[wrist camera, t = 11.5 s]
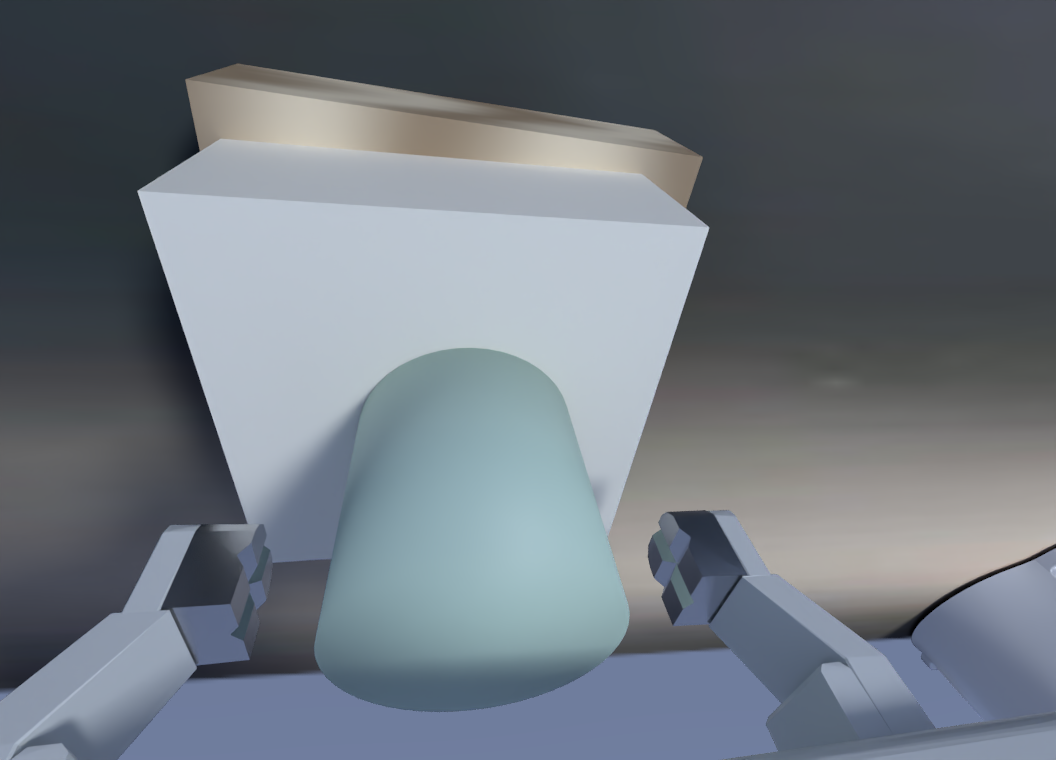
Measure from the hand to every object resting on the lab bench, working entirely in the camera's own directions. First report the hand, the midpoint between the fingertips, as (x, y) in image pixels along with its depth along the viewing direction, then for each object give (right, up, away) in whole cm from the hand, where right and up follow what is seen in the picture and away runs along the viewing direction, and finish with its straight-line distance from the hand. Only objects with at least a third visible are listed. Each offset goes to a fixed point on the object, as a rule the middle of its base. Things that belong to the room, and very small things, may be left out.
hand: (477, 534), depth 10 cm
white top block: (-1, +5, +5) cm, 7 cm away
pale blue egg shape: (0, +2, +2) cm, 3 cm away
